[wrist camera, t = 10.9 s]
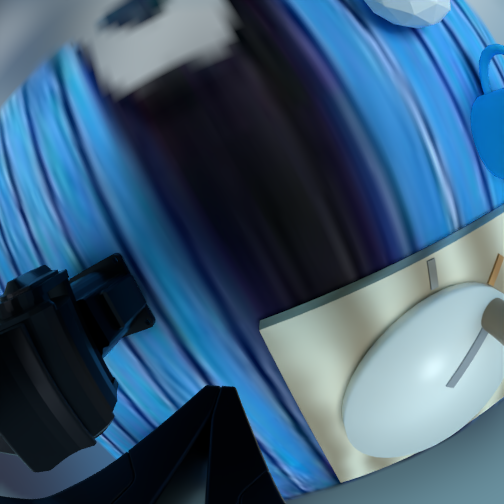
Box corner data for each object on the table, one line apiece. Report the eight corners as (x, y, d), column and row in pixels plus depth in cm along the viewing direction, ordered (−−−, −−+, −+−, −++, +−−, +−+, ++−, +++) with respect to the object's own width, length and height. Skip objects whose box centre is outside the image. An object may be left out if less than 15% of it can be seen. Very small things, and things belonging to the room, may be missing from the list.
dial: (437, 447, 22) (464, 503, 12) (302, 440, 22) (310, 532, 11) (530, 312, 17) (587, 352, 7) (420, 245, 17) (527, 300, 7)
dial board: (339, 474, 26) (341, 483, 24) (259, 320, 21) (259, 331, 19) (505, 385, 22) (511, 391, 20) (509, 200, 17) (520, 202, 15)
